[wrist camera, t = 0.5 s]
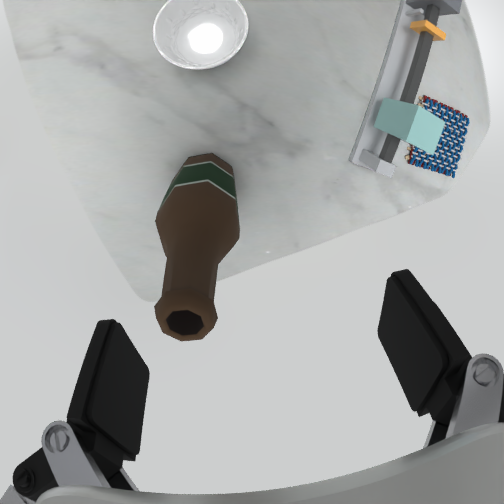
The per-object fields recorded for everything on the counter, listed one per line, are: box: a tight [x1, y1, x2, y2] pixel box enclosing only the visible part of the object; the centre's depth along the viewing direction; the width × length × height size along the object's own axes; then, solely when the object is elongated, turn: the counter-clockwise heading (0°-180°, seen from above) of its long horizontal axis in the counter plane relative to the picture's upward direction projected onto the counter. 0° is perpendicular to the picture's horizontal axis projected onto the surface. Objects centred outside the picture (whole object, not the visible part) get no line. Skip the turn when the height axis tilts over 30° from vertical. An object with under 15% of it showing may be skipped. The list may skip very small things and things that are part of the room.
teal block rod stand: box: [349, 0, 462, 178], centre depth 26 cm, size 28×4×8 cm, turn 164°
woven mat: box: [405, 95, 470, 178], centre depth 34 cm, size 10×11×2 cm
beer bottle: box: [154, 153, 240, 341], centre depth 26 cm, size 8×8×24 cm
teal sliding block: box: [374, 98, 445, 155], centre depth 27 cm, size 4×4×7 cm
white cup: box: [153, 0, 249, 70], centre depth 23 cm, size 8×8×10 cm
